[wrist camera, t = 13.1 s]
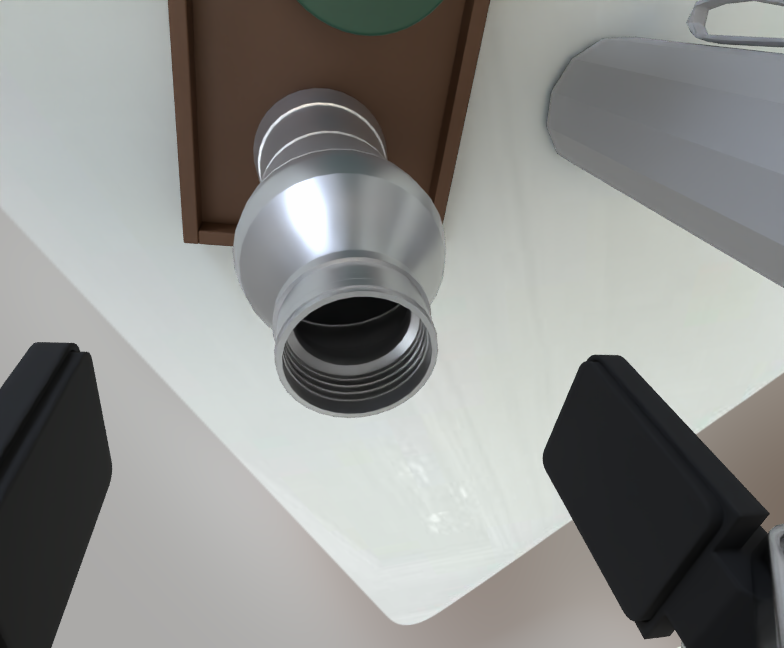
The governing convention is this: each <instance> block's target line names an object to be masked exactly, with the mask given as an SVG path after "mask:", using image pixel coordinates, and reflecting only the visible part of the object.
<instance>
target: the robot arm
mask: <svg viewBox="0 0 784 648" xmlns="http://www.w3.org/2000/svg"><path fill="white" fill-rule="evenodd" d="M543 464H544V468H545V470H546V472H547V474H548V476H549V477H550V479H551V481H552V483H553V485H554V486H555V488H556V490H557V492H558V494H559V496H560V497H561V499H562V501H563V503H564V505H565V506H566V508H567V510H568V512H569V514H570V516H571V517H572V519H573V521H574V523H575V525H576V526H577V528H578V530H579V532H580V534H581V535H582V537H583V539H584V541H585V543H586V545H587V546H588V548H589V550H590V552H591V553H592V555H593V557H594V559H595V561H596V563H597V564H598V566H599V568H600V570H601V572H602V574H603V575H604V577H605V579H606V581H607V583H608V585H609V586H610V588H611V590H612V592H613V594H614V595H615V597H616V599H617V601H618V603H619V604H620V606H621V608H622V610H623V612H624V613H625V614H626V616H627V617H628V618H629V619H630V620H632V621H635V623H636V625H637V627H638V628H639V630H640V632H641V634H642V636H643V638H644V639H650V638H659V637H666V636H670V635H671V634H672V633H673V631H674V630H675V631H676V632H677V634H678V635H679V637H680V638H681V640H682V642H681V648H784V524H781V525H776V526H775V527H774V528H772V529H771V530H770V531H769V533H768V534H767V532H766V531H765V530H764V529H763V528H762V527H761V526H760V525H761V524H762V523H763V521H764V520H765V519H766V518H767V516H768V515H769V512H768V511H767V510H766V509H765V508H764V507H763V506H762V505H761V504H760V503H759V502H758V501H757V500H756V498H755V497H754V496H753V495H752V494H751V493H750V492H749V491H748V490H747V489H746V488H745V487H744V486H743V485H742V484H741V482H740V481H739V480H738V479H737V478H736V477H735V476H734V475H733V474H732V473H731V472H730V471H729V470H728V469H727V468H726V466H725V465H724V464H723V463H722V462H721V461H720V460H719V459H718V458H717V457H716V456H715V455H714V454H713V453H712V451H710V449H709V448H708V447H707V446H706V445H705V444H704V443H703V442H702V441H701V440H700V439H699V438H698V437H697V435H696V434H695V433H694V432H693V431H692V430H691V429H690V428H689V427H688V426H687V425H686V424H685V423H684V422H683V421H682V419H681V418H680V417H679V416H678V415H677V414H676V413H675V412H674V411H673V410H672V409H671V408H670V407H669V406H668V405H667V403H666V402H665V401H664V400H663V399H662V398H661V397H660V396H659V395H658V394H657V393H656V392H655V391H654V390H653V388H652V387H651V386H650V385H649V384H648V383H647V382H646V381H645V380H644V379H643V378H642V377H641V376H640V375H639V374H638V372H637V371H636V370H635V369H634V368H633V367H632V366H631V365H630V364H629V363H628V362H627V361H626V360H625V359H624V358H623V357H621V356H618V355H592V356H591V357H589V358H588V359H587V361H586V362H583V363H582V364H581V365H580V367H579V369H578V372H577V374H576V376H575V379H574V381H573V383H572V386H571V388H570V390H569V393H568V395H567V398H566V400H565V402H564V405H563V407H562V409H561V412H560V414H559V416H558V419H557V421H556V423H555V426H554V428H553V431H552V433H551V435H550V438H549V440H548V442H547V445H546V447H545V449H544V452H543ZM111 475H112V462H111V456H110V451H109V446H108V441H107V436H106V430H105V426H104V420H103V415H102V409H101V404H100V399H99V393H98V389H97V383H96V378H95V372H94V367H93V362H92V358H91V355H90V353H88V352H80V350H79V347H78V346H77V344H75V343H50V342H37V343H34V344H33V345H32V346H31V347H30V348H29V349H28V351H27V352H26V354H25V355H24V356H23V358H22V359H21V361H20V362H19V363H18V365H17V366H16V368H15V369H14V370H13V372H12V373H11V374H10V376H9V377H8V379H7V380H6V381H5V383H4V384H3V386H2V387H1V389H0V648H51V647H52V644H53V641H54V638H55V636H56V633H57V630H58V627H59V624H60V621H61V619H62V616H63V613H64V610H65V607H66V605H67V602H68V599H69V596H70V594H71V591H72V588H73V585H74V582H75V580H76V577H77V574H78V571H79V568H80V566H81V563H82V560H83V557H84V554H85V552H86V549H87V546H88V543H89V540H90V538H91V535H92V532H93V529H94V527H95V524H96V521H97V518H98V515H99V513H100V510H101V507H102V504H103V501H104V499H105V496H106V493H107V490H108V487H109V484H110V481H111Z"/></svg>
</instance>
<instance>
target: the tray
mask: <svg viewBox="0 0 784 648" xmlns="http://www.w3.org/2000/svg"><path fill="white" fill-rule="evenodd" d="M489 4H490V0H443V1H442V3H441V4H440V5H439V6H438V7H437V8H436V9H435V10H434V11H433V12H431V13H430V14H429V15H428V16H426V17H425V18H424V19H422V20H421V21H420V22H418V23H416V24H414V25H412V26H411V27H409V28H406V29H404V30H401V31H398V32H396V33H391V34H387V35H379V36H364V35H355V34H351V33H347V32H343V31H341V30H338V29H336V28H333V27H331V26H329V25H327V24H326V23H324V22H322V21H320V20H319V19H317V18H316V17H315V16H313V15H312V14H311V13H309V12H308V11H307V10H306V9H305V8H304V7H303V6H302V5H301V4H300V3H299V2H298V1H297V0H168V10H169V26H170V41H171V56H172V71H173V86H174V102H175V117H176V132H177V147H178V162H179V178H180V193H181V208H182V223H183V238H184V243H194V244H198V243H199V244H208V245H222V246H233V244H234V237H235V230H236V227H237V225H238V222H239V220H240V217H241V215H242V212H243V210H244V208H245V205H246V203H247V201H248V199H249V198H250V196H251V195H252V193H253V192H254V191H255V189H256V188H257V186H258V185H259V184H260V181H259V178H258V174H257V170H256V167H255V163H254V153H253V147H254V140H255V135H256V132H257V129H258V127H259V124H260V122H261V120H262V119H263V117H264V116H265V114H266V113H267V111H268V110H269V109H270V108H271V107H272V106H273V105H274V104H275V103H276V102H278V101H279V100H281V99H283V98H284V97H286V96H287V95H289V94H292V93H295V92H297V91H300V90H305V89H312V88H324V89H332V90H335V91H339V92H343V93H345V94H347V95H349V96H351V97H353V98H355V99H356V100H357V101H359V102H360V103H361V104H363V105H364V106H365V107H366V108H367V109H368V110H369V111H370V112H371V113H372V115H373V116H374V117H375V119H376V120H377V122H378V124H379V126H380V127H381V130H382V133H383V136H384V139H385V143H386V151H387V159H388V161H390V162H391V163H393V164H395V165H396V166H397V167H399V168H400V169H402V170H403V171H404V172H406V173H407V174H408V175H410V176H411V177H412V179H413V180H415V181H416V182H417V183H418V185H419V186H420V187H421V188H422V189H423V190H424V191H425V192H426V193H427V195H428V196H429V197H430V198H431V200H432V202H433V204H434V205H435V207H436V209H437V211H438V213H439V215H440V218H441V222H442V225H443V220H444V215H445V211H446V206H447V201H448V196H449V192H450V187H451V182H452V178H453V173H454V168H455V164H456V159H457V154H458V149H459V145H460V140H461V135H462V131H463V126H464V121H465V116H466V112H467V107H468V102H469V98H470V93H471V88H472V84H473V79H474V74H475V69H476V65H477V60H478V55H479V51H480V46H481V41H482V36H483V32H484V27H485V22H486V18H487V13H488V8H489Z"/></svg>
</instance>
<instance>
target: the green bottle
mask: <svg viewBox="0 0 784 648" xmlns="http://www.w3.org/2000/svg"><path fill="white" fill-rule="evenodd" d="M297 1H298V2H299V3H300V4H301V5H302V6H303V7H304V8H305V9H306V10H307V11H308V12H309V13H311V14H312V15H313V16H315V17H316V18H317V19H319V20H320V21H322V22H324V23H326V24H327V25H329V26H331V27H333V28H336V29H338V30H341V31H343V32H347V33H351V34H355V35H364V36H379V35H387V34H391V33H396V32H398V31H401V30H404V29H406V28H409V27H411V26H412V25H414V24H416V23H418V22H420V21H421V20H422V19H424V18H425V17H426V16H428V15H429V14H430V13H431V12H433V11H434V10H435V9H436V8H437V7H438V6H439V5H440V4H441V3H442V1H443V0H297Z"/></svg>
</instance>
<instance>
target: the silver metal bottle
mask: <svg viewBox="0 0 784 648" xmlns="http://www.w3.org/2000/svg"><path fill="white" fill-rule="evenodd" d="M253 153H254V163H255V167H256V170H257V174H258V178H259V181H260V184H259V185H258V186H257V188H256V189H255V191H254V192H253V193H252V195H251V196H250V198H249V199H248V201H247V203H246V205H245V208H244V210H243V212H242V215H241V217H240V220H239V222H238V225H237V227H236V230H235V237H234V244H233V258H234V268H235V271H236V274H237V277H238V280H239V283H240V286H241V288H242V290H243V292H244V294H245V296H246V298H247V300H248V301H249V303H250V305H251V306H252V308H253V310H254V311H255V313H256V314H257V315H258V316H259V317H260V318H261V319H262V321H263V322H264V323H265V324H266V325H267V326H268V327H270V328H271V329H272V330H273V337H274V340H275V349H274V355H275V365H276V370H277V373H278V376H279V379H280V381H281V383H282V385H283V386H284V388H285V389H286V391H287V392H288V393H289V394H290V395H291V396H292V397H293V398H294V399H295V400H296V401H297V402H299V403H300V404H302V405H303V406H305V407H306V408H308V409H311V410H313V411H316V412H318V413H321V414H325V415H329V416H333V417H344V418H355V417H366V416H371V415H376V414H379V413H382V412H385V411H388V410H391V409H393V408H395V407H396V406H398V405H400V404H402V403H404V402H405V401H407V400H408V399H409V398H411V397H412V396H414V395H415V394H416V393H417V392H418V391H419V390H420V389H421V388H422V387H423V386H424V385H425V383H426V381H427V380H428V378H429V377H430V375H431V374H432V371H433V369H434V366H435V364H436V360H437V354H438V344H437V333H436V330H435V327H434V324H433V321H432V319H431V308H430V305H431V303H432V302H433V300H434V298H435V297H436V295H437V293H438V290H439V287H440V285H441V282H442V279H443V273H444V266H445V254H446V246H445V232H444V228H443V225H442V222H441V218H440V215H439V213H438V211H437V209H436V207H435V205H434V204H433V202H432V200H431V198H430V197H429V196H428V195H427V193H426V192H425V191H424V190H423V189H422V188H421V187H420V186H419V185H418V183H417V182H416V181H415V180H413V179H412V177H411V176H410V175H408V174H407V173H406V172H404V171H403V170H402V169H400V168H399V167H397V166H396V165H395V164H393V163H391V162H390V161H388V159H387V151H386V143H385V139H384V136H383V133H382V130H381V127H380V126H379V124H378V122H377V120H376V119H375V117H374V116H373V115H372V113H371V112H370V111H369V110H368V109H367V108H366V107H365V106H364V105H363V104H361V103H360V102H359V101H357V100H356V99H355V98H353V97H351V96H349V95H347V94H345V93H343V92H339V91H335V90H332V89H324V88H312V89H305V90H300V91H297V92H295V93H292V94H289V95H287V96H286V97H284V98H283V99H281V100H279V101H278V102H276V103H275V104H274V105H273V106H272V107H271V108H270V109H269V110H268V111H267V113H266V114H265V116H264V117H263V119H262V120H261V122H260V124H259V127H258V129H257V132H256V135H255V140H254V147H253Z"/></svg>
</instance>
